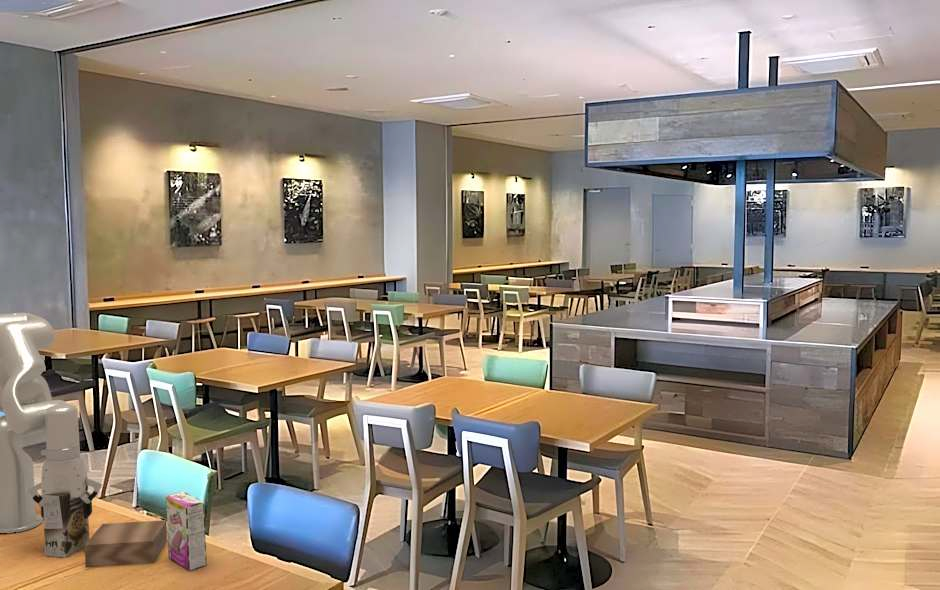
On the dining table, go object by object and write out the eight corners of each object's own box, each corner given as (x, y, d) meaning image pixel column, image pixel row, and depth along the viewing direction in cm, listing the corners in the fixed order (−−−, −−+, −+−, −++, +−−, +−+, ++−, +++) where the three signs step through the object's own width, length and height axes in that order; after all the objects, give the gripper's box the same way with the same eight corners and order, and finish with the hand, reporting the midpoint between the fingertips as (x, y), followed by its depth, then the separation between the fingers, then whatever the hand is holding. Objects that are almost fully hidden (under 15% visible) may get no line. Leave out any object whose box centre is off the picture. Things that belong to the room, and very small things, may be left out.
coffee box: (66, 558, 194) (63, 496, 193) (44, 556, 195) (41, 494, 194) (91, 543, 203) (88, 484, 202) (69, 541, 204) (66, 482, 203)
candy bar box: (166, 558, 194) (164, 495, 192) (185, 552, 197) (183, 490, 196) (188, 572, 186) (186, 506, 185) (207, 565, 190) (205, 500, 188)
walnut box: (85, 568, 189) (84, 545, 188) (103, 545, 203) (102, 523, 202) (154, 564, 191) (153, 541, 191) (167, 541, 205) (166, 520, 205)
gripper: (21, 459, 192) (25, 526, 193) (94, 455, 195) (98, 521, 196) (33, 451, 199) (37, 515, 201) (103, 447, 202) (107, 510, 203)
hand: (67, 518), depth 198 cm, fingers open, 9 cm apart
